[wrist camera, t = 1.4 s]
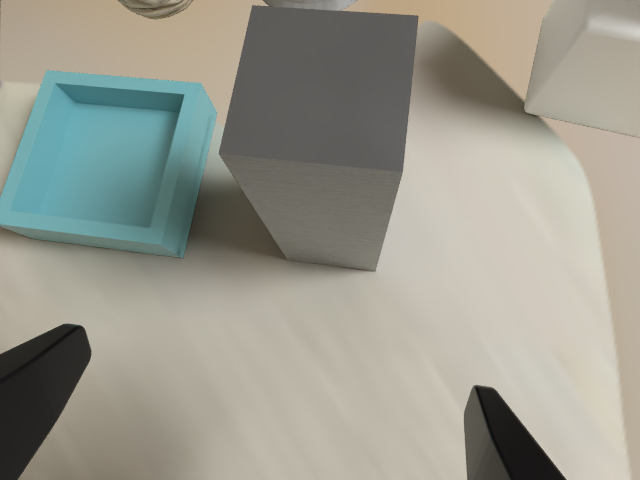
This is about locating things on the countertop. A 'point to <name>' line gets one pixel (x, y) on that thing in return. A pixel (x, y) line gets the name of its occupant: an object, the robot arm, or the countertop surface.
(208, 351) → the countertop surface
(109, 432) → the countertop surface
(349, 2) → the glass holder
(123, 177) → the teal tray
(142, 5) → the carving
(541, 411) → the countertop surface
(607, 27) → the medicine bottle
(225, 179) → the countertop surface
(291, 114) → the tall grey square pillar
